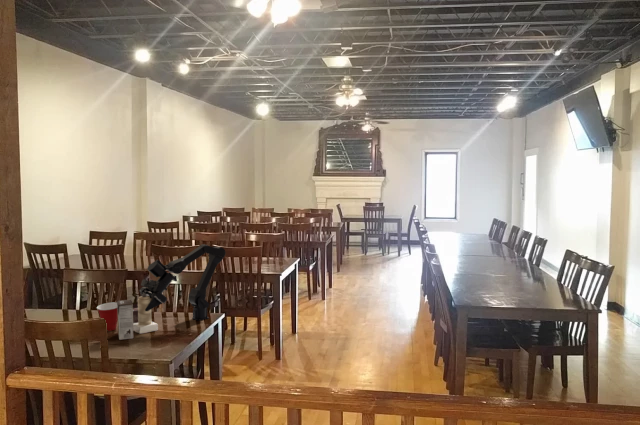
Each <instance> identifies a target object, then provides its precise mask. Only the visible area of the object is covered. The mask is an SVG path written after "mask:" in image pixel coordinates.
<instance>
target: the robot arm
mask: <svg viewBox="0 0 640 425" xmlns="http://www.w3.org/2000/svg"><path fill="white" fill-rule="evenodd" d="M205 254H208V261H207V264H206V267H205V269H204V271H203V273H202V276H201V277H200V279H199V282H198V284H197V286H196V287H195V288H193V287H192V288H191V289H190V292H189V294H188V302H189V303H190V304H191V306H192V307H193V310H192V317H191V319H193V320H196V321H202V320H208V319H210V317H209V316H208V308H209V306H210V303H209V302H208V301H207V300H206V298H207V289H208V286H209V284H210V281H211V280H212V277H213V275H214V273H215V271H216V268H217V266H218V265H219V263H221V262H222V261H223V259H224V258H225V256H226V254H227V253H226V249H225V248H224V247H220V246H211V245H210V246H209V245H207V244H204V243H203V244H200V245H199V246H198V247H196V248H195V249H193V250H192V251H190V252H189V253H187V254H186V255H184V256H183V257H180V258H177V259H174V260H171V261H169V262H168V263H166V264H163V263H162V262H161V261H160V260H159V259H156V260H155V261H153V262H151V263H150V264H149V265H148V266H147V269H146V270H147V271H148V272H149V273H150V274H152V275H153V276H154V277H155V278H157V280H153V279H149V280H147V279H142V280H141V283H140V286H141V288H139V294H140V297H141V296H142V294H143V293H145V294H146V296H150V298H151V301H150V303H149V304H148V306H147V307H146V309H145V311H149V310H150V309H151V310H152V309H154V308H156V307H159V306H160V305H162V304H165V303H166V302H167V299H168V298H167V296H165V295H164V294H163V292H164V291H167V290H168V287H169V285H170V284H171V282H173V281H174V282H178V278H177V277H178V275H180V274H181V273H182V272H183V271H185V269H186V268H187V266H188V265H189V264H192V263H193V262H195V260H197V259H199V258H200V257H202V256H203V255H205ZM167 271H168V272H167ZM174 274H175V275H174ZM136 308H138V304H137V305H136Z"/></svg>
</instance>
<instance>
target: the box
mask: <svg viewBox="0 0 640 425" xmlns="http://www.w3.org/2000/svg"><path fill="white" fill-rule="evenodd" d="M133 323H138V308H137V307H133Z"/></svg>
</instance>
